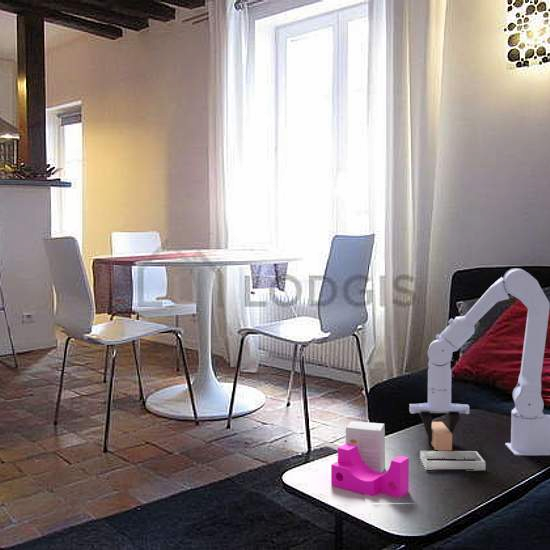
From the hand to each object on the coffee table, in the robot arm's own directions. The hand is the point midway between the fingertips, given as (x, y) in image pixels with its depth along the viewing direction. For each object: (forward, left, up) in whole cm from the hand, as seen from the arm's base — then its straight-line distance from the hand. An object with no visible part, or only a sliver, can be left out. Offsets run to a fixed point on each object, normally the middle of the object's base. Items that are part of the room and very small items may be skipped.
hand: (438, 441), depth 161 cm
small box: (+20, +17, -2) cm, 26 cm away
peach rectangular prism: (0, 0, -2) cm, 2 cm away
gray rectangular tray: (0, +14, -1) cm, 14 cm away
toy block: (+20, +27, -2) cm, 34 cm away
